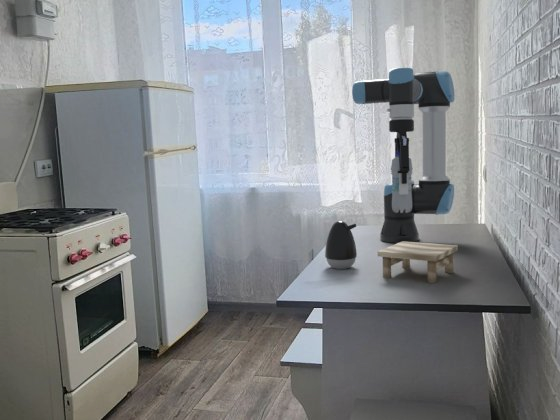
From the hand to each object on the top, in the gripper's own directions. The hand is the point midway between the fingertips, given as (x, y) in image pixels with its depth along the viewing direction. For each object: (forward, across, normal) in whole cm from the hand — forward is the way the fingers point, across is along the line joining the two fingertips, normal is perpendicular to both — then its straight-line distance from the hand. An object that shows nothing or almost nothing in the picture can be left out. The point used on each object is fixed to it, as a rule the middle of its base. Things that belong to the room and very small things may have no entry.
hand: (402, 193), depth 191 cm
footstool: (+24, +9, +3) cm, 26 cm away
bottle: (+6, 0, 0) cm, 6 cm away
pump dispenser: (+24, -3, -19) cm, 31 cm away
